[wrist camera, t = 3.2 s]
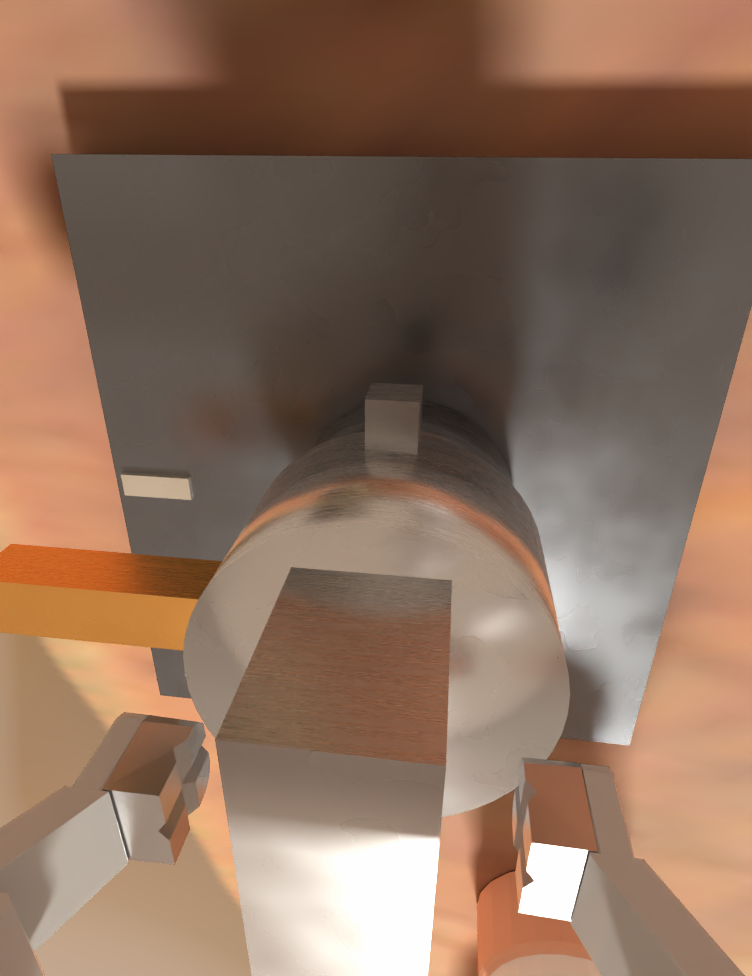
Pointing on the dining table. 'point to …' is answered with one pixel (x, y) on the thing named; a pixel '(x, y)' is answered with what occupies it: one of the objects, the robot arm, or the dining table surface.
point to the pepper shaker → (525, 938)
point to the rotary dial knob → (342, 676)
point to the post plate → (425, 351)
